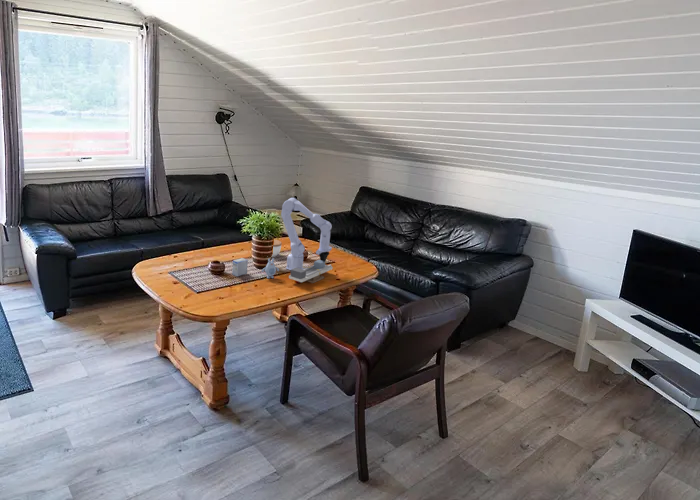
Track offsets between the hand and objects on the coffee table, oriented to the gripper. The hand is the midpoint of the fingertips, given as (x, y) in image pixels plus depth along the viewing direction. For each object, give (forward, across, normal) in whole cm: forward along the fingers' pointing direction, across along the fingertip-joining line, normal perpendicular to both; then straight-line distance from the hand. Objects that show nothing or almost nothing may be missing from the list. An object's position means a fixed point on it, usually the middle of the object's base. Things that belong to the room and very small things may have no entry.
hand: (322, 263), depth 311 cm
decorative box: (+7, +5, +43) cm, 44 cm away
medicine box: (+7, -36, +33) cm, 50 cm away
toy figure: (+7, -28, +17) cm, 34 cm away
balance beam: (+7, -12, 0) cm, 13 cm away
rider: (+2, -4, 0) cm, 4 cm away
